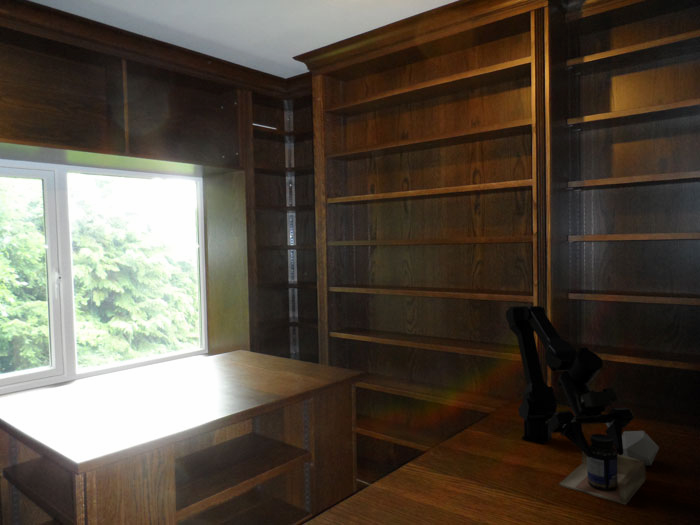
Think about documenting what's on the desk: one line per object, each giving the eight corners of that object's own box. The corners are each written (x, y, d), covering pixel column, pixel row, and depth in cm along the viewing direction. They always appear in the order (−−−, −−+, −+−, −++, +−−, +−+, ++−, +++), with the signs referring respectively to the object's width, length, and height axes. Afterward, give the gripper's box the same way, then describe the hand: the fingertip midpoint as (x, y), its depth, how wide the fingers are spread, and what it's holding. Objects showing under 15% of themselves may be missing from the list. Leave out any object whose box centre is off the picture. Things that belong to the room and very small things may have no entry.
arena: (559, 485, 118) (558, 466, 118) (583, 463, 129) (583, 446, 129) (625, 504, 108) (625, 484, 108) (645, 479, 120) (645, 460, 120)
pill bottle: (610, 479, 119) (610, 432, 119) (622, 492, 113) (622, 442, 113) (583, 479, 119) (582, 432, 119) (593, 491, 113) (593, 442, 113)
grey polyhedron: (656, 476, 123) (669, 439, 126) (622, 456, 124) (636, 421, 127) (638, 474, 131) (650, 439, 134) (606, 456, 132) (619, 422, 135)
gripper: (553, 377, 118) (581, 442, 108) (628, 373, 120) (662, 436, 110) (537, 401, 126) (561, 464, 116) (608, 397, 128) (638, 458, 118)
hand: (606, 455), depth 114 cm, fingers open, 7 cm apart
